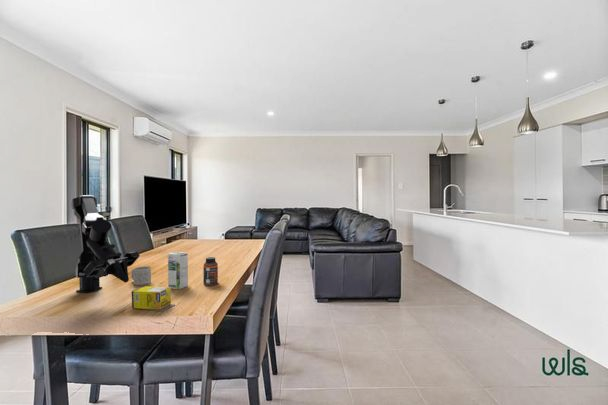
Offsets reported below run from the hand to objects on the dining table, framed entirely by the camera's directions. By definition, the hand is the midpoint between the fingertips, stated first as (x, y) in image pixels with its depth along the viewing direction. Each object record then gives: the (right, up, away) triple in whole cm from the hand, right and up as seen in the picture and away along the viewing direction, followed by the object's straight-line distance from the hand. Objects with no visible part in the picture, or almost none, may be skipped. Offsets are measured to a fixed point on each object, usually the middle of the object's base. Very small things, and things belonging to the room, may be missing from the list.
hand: (127, 281), depth 110 cm
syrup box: (+9, -8, +22) cm, 25 cm away
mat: (+11, -8, -1) cm, 14 cm away
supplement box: (+4, -5, -1) cm, 6 cm away
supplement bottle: (+21, -8, +26) cm, 35 cm away
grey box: (-11, -8, +29) cm, 32 cm away
